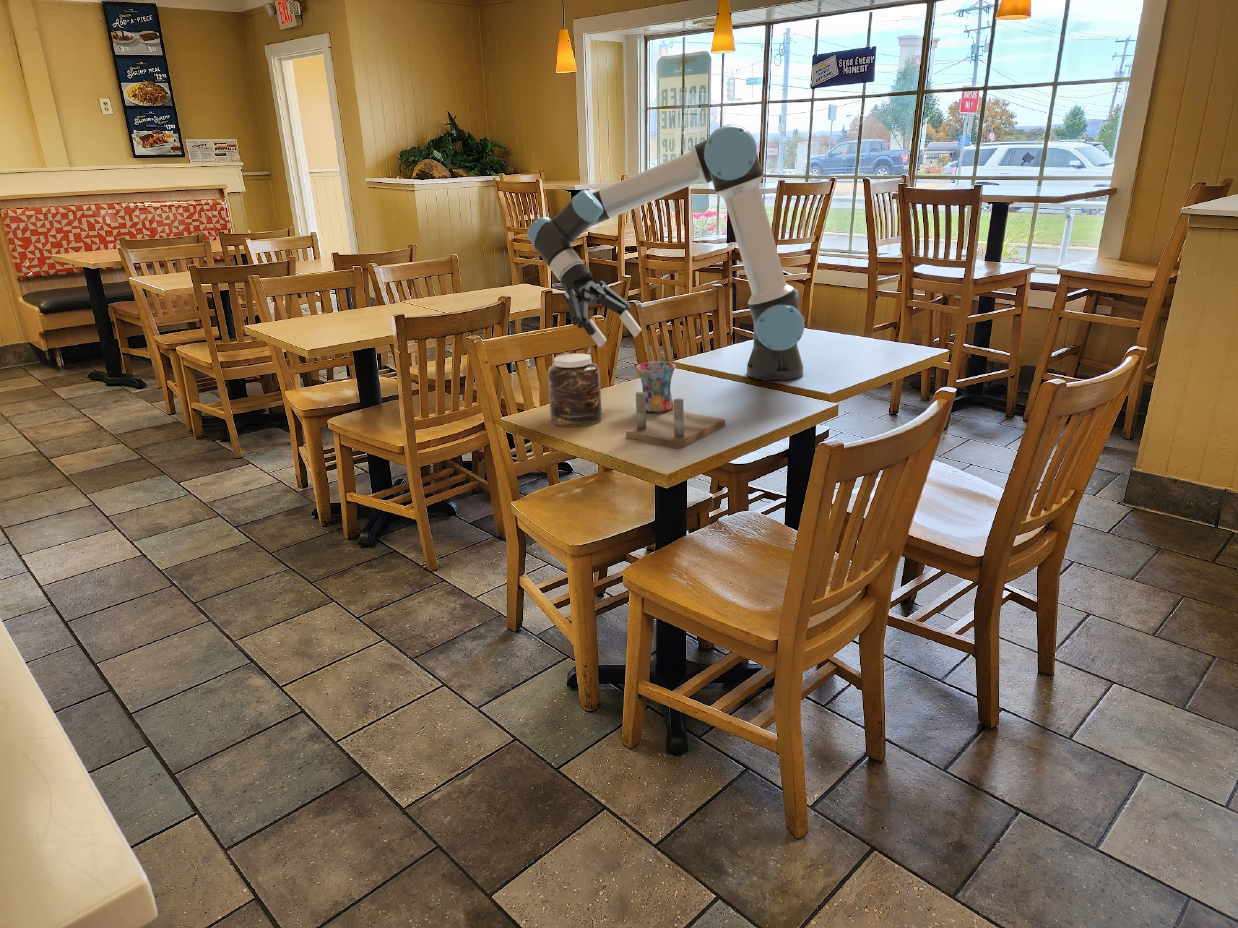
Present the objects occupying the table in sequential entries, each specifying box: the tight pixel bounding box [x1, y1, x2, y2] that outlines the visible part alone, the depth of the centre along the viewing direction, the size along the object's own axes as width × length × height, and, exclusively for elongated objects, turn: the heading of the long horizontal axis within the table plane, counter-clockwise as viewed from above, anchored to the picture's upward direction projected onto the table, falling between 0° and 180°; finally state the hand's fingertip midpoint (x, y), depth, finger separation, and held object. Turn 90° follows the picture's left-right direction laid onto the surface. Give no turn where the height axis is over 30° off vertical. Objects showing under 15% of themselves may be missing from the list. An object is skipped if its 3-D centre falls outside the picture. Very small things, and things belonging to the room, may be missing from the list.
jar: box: [547, 353, 603, 428], centre depth 187 cm, size 12×12×15 cm
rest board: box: [625, 391, 726, 449], centre depth 177 cm, size 18×14×10 cm
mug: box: [635, 361, 676, 413], centre depth 195 cm, size 12×9×11 cm
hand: (621, 338), depth 197 cm, fingers open, 13 cm apart
